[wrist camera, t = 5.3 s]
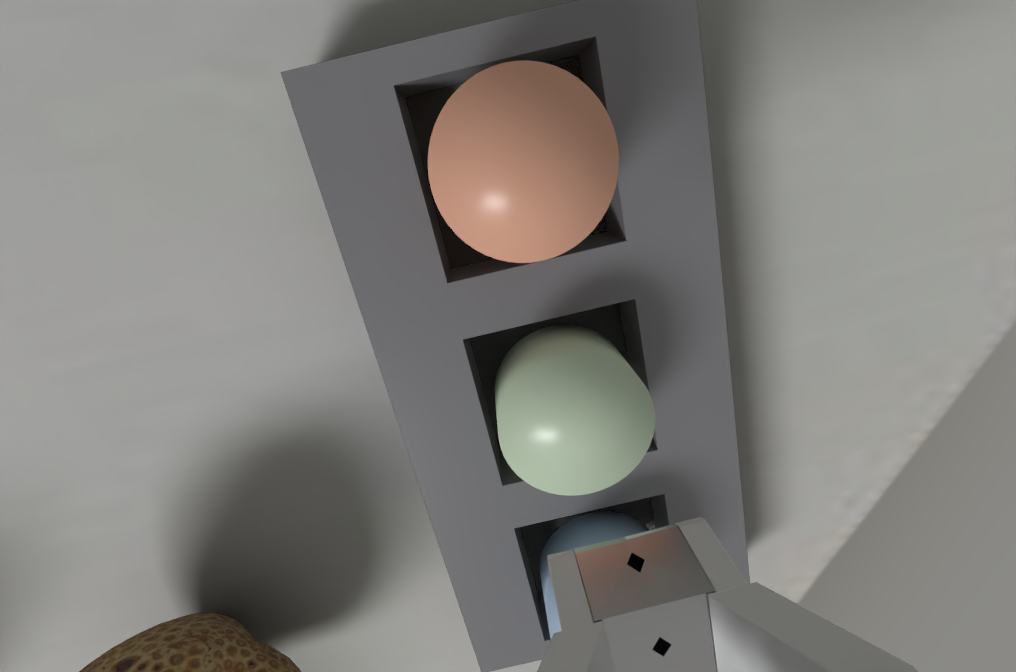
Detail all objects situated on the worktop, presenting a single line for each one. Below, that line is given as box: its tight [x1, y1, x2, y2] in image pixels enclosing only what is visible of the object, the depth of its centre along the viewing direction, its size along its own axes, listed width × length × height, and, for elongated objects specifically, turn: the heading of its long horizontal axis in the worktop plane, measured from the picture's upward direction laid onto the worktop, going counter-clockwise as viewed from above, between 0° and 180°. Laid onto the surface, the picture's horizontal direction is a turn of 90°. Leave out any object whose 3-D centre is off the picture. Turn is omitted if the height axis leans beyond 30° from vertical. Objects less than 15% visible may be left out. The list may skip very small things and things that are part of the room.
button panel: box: [281, 0, 750, 672], centre depth 19 cm, size 24×12×2 cm, turn 13°
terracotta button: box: [428, 60, 619, 263], centre depth 15 cm, size 5×5×3 cm
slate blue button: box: [539, 511, 649, 638], centre depth 20 cm, size 5×5×3 cm
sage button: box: [495, 325, 655, 496], centre depth 17 cm, size 5×5×3 cm
